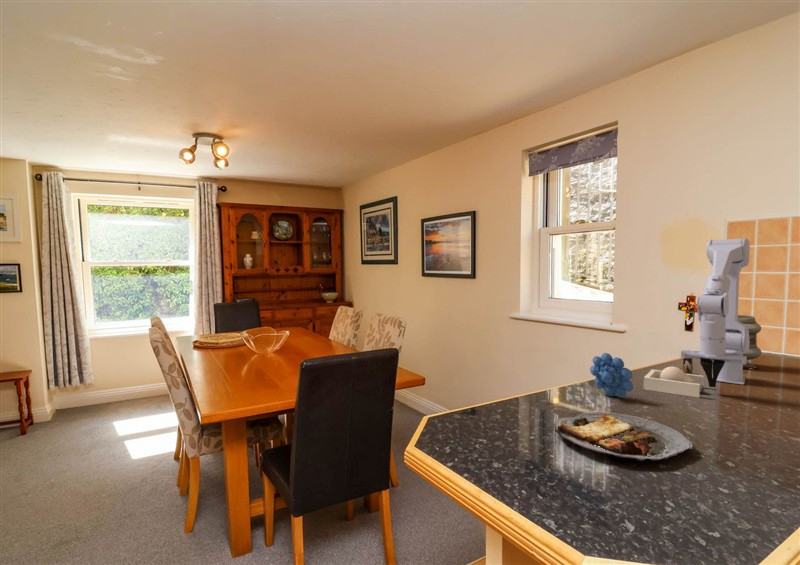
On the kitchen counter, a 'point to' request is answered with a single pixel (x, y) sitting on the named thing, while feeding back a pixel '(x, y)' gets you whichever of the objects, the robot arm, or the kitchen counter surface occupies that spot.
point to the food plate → (607, 425)
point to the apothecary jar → (753, 330)
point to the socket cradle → (673, 384)
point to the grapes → (611, 375)
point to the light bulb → (677, 376)
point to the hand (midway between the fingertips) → (712, 386)
